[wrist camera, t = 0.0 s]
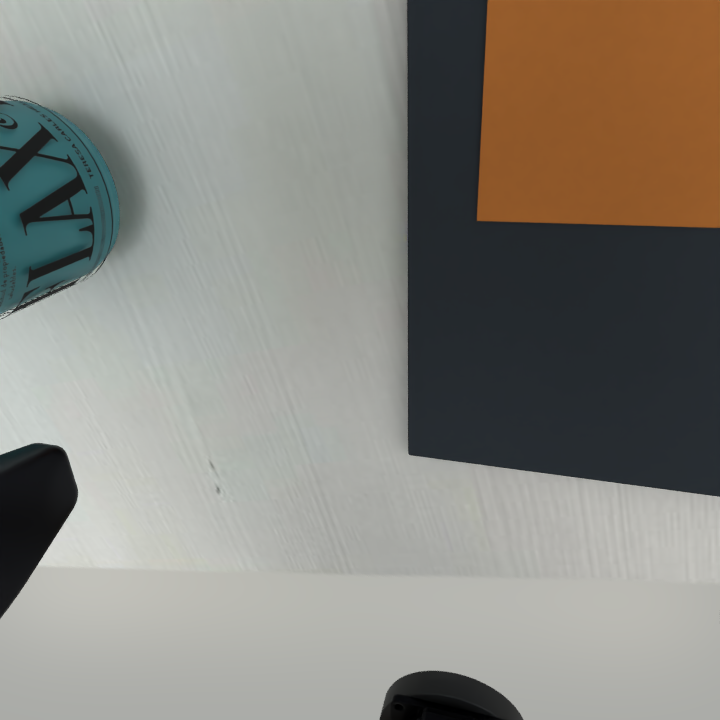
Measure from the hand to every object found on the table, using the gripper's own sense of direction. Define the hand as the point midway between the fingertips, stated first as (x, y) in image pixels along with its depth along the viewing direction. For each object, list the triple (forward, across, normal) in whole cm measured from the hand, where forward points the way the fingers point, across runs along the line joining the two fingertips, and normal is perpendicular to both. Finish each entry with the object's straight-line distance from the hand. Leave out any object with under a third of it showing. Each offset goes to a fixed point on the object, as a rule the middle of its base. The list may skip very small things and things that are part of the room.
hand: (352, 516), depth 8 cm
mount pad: (+14, -4, 0) cm, 14 cm away
